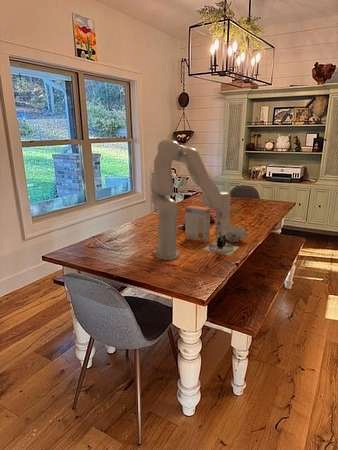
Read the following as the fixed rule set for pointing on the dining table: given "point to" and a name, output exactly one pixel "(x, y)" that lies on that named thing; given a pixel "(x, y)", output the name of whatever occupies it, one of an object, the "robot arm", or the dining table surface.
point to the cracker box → (197, 224)
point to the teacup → (235, 234)
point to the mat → (221, 253)
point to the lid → (224, 249)
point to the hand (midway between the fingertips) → (221, 245)
